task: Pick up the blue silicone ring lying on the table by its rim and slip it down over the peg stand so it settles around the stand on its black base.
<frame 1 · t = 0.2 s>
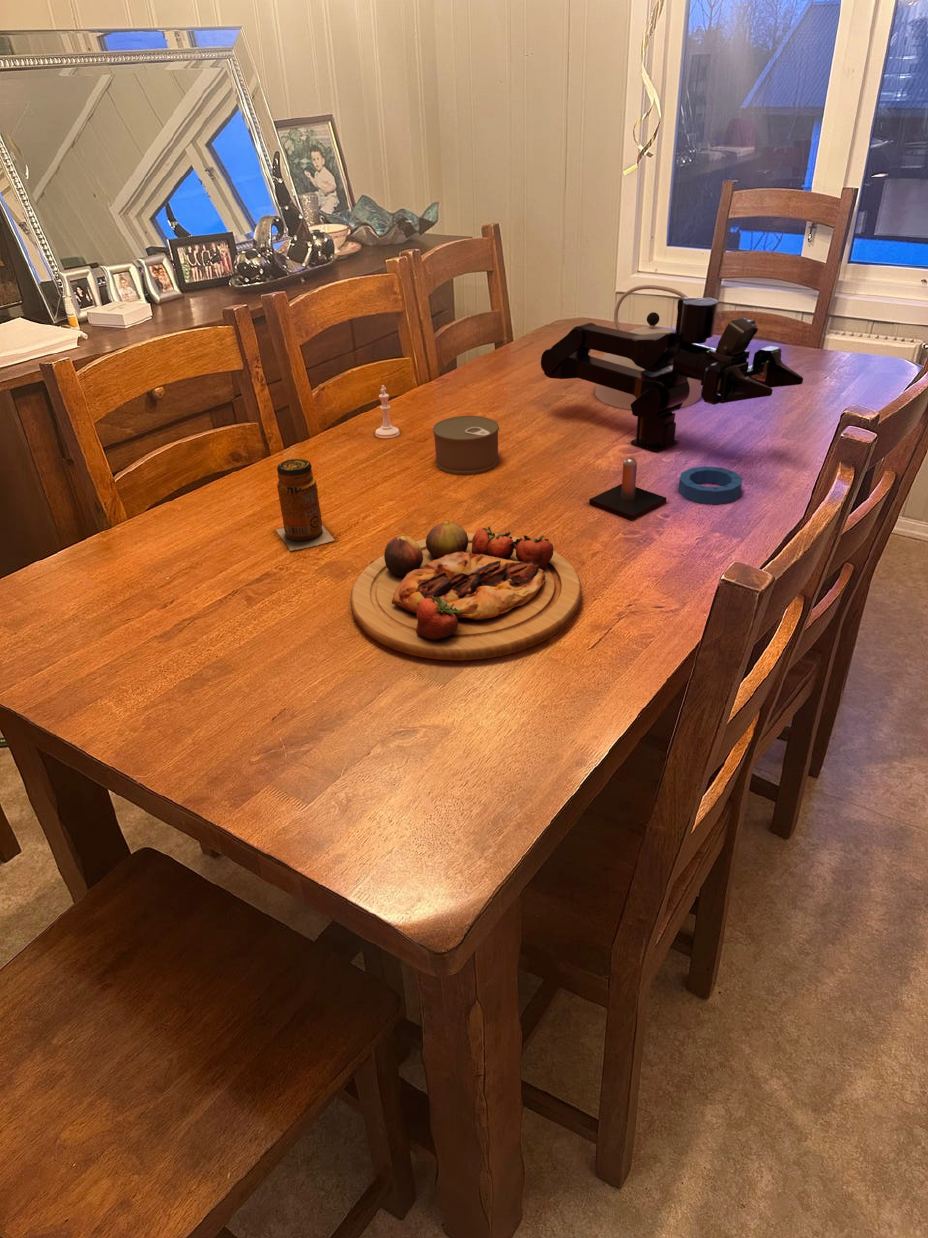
hand: (787, 386, 141), 16 cm above the table, tool horizontal, fingers open, 9 cm apart
chess piece: (387, 434, 177), on the table
wooden plate: (466, 600, 122), on the table
kettle: (652, 394, 190), on the table
can: (467, 463, 163), on the table
blue ring: (709, 491, 147), on the table
condiment: (305, 537, 140), on the table
peg stand: (627, 503, 145), on the table
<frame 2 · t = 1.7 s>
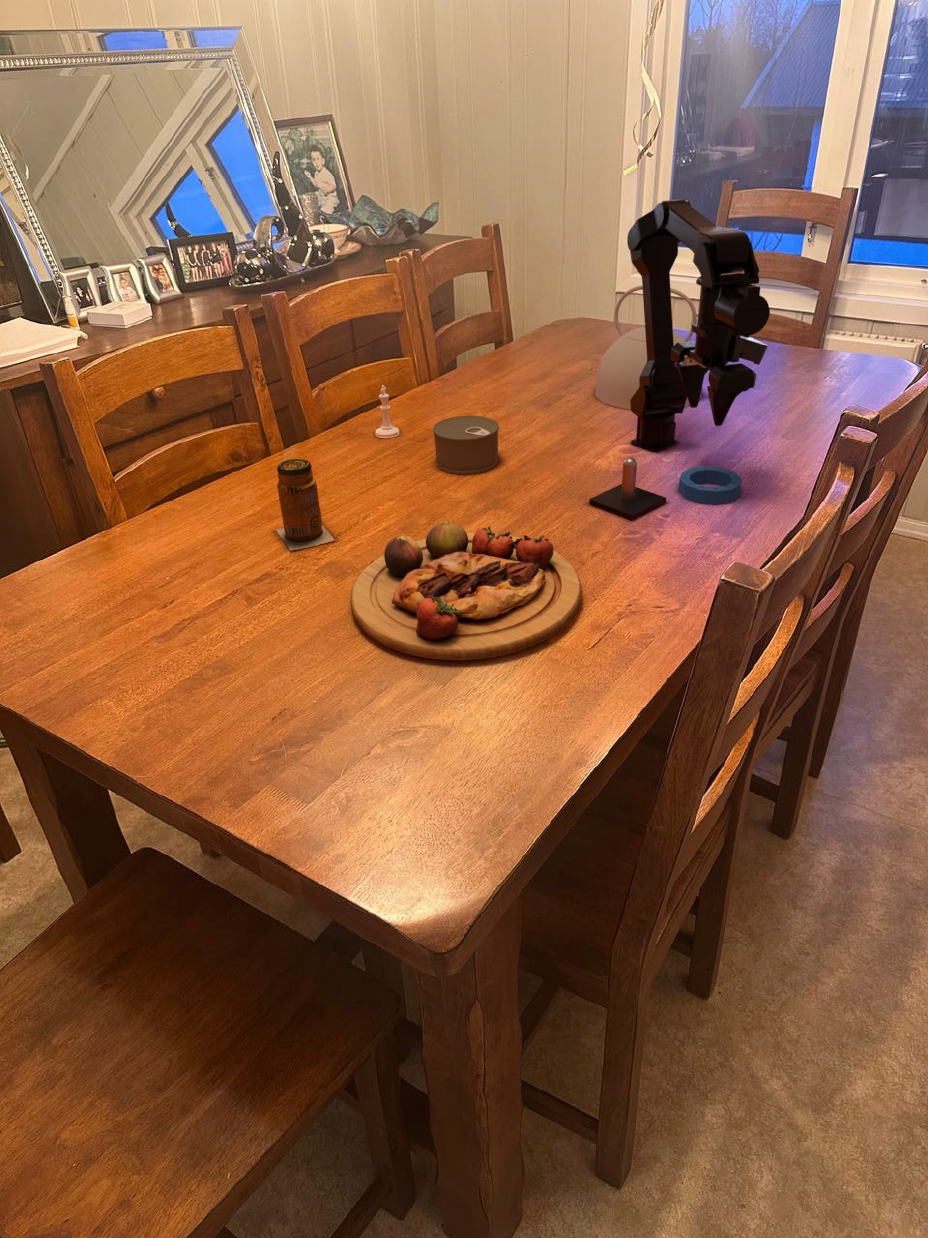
hand: (705, 416, 144), 12 cm above the table, tool pointing down, fingers open, 9 cm apart
nothing on the table moved.
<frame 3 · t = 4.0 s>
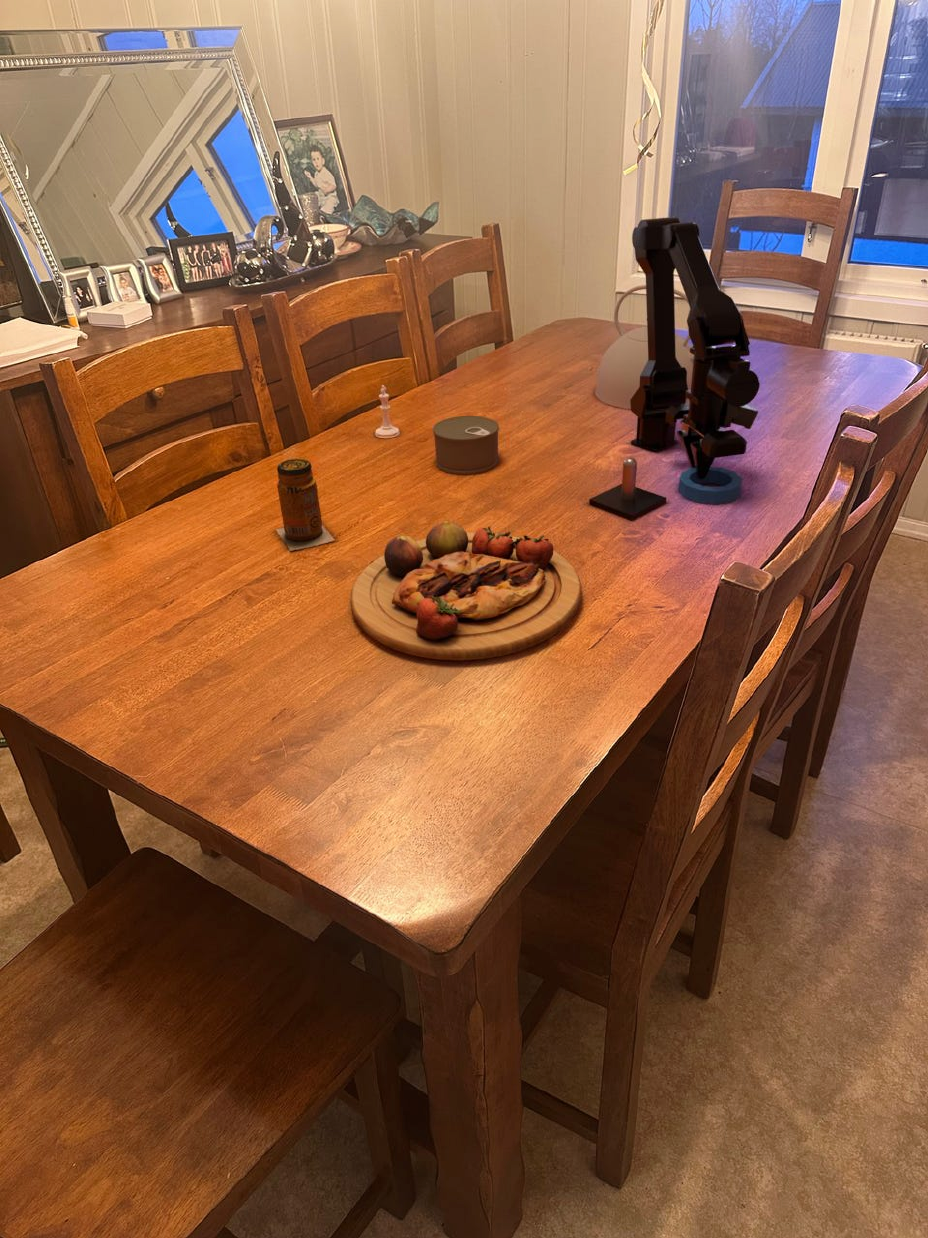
hand: (699, 476, 150), 1 cm above the table, tool pointing down, fingers closed on blue ring, 2 cm apart
blue ring: (709, 491, 147), on the table, touching gripper
everything else where it was.
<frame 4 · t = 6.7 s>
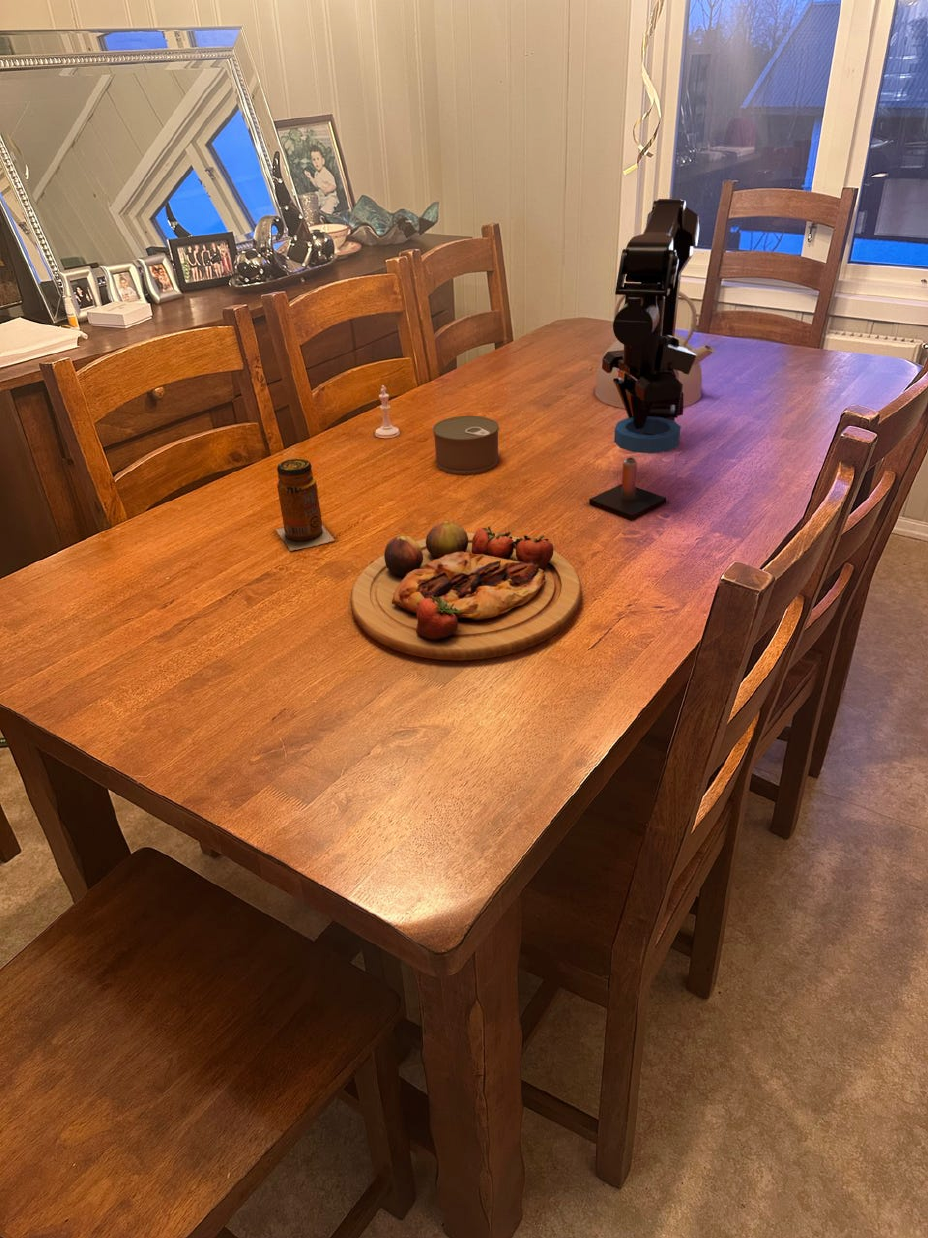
hand: (636, 426, 142), 12 cm above the table, tool pointing down, fingers closed on blue ring
blue ring: (646, 441, 139), point 11 cm above the table, touching gripper
everything else where it was.
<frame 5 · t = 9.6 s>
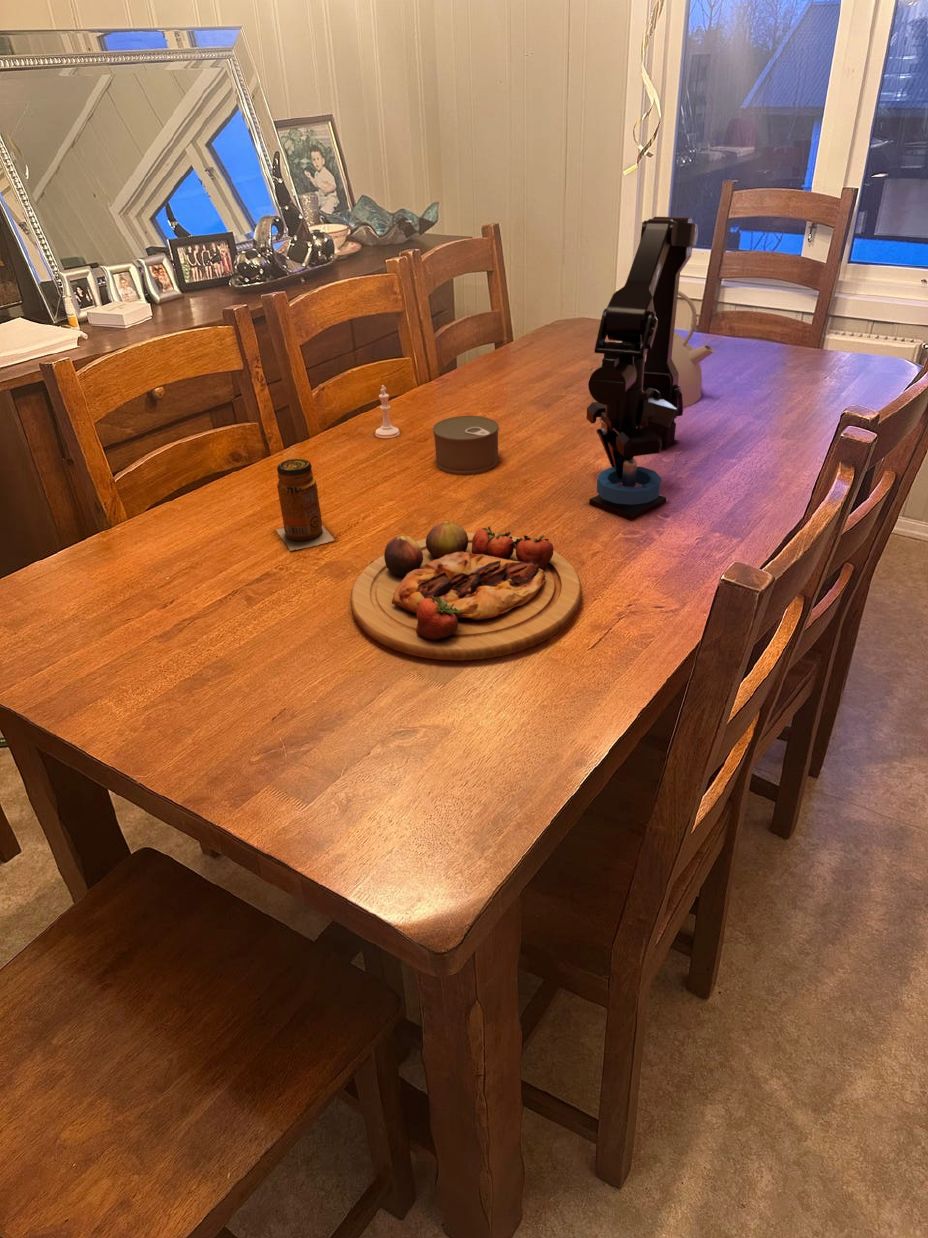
hand: (619, 475, 146), 3 cm above the table, tool pointing down, fingers closed on blue ring, 2 cm apart
blue ring: (628, 491, 144), point 2 cm above the table, touching gripper
everything else where it was.
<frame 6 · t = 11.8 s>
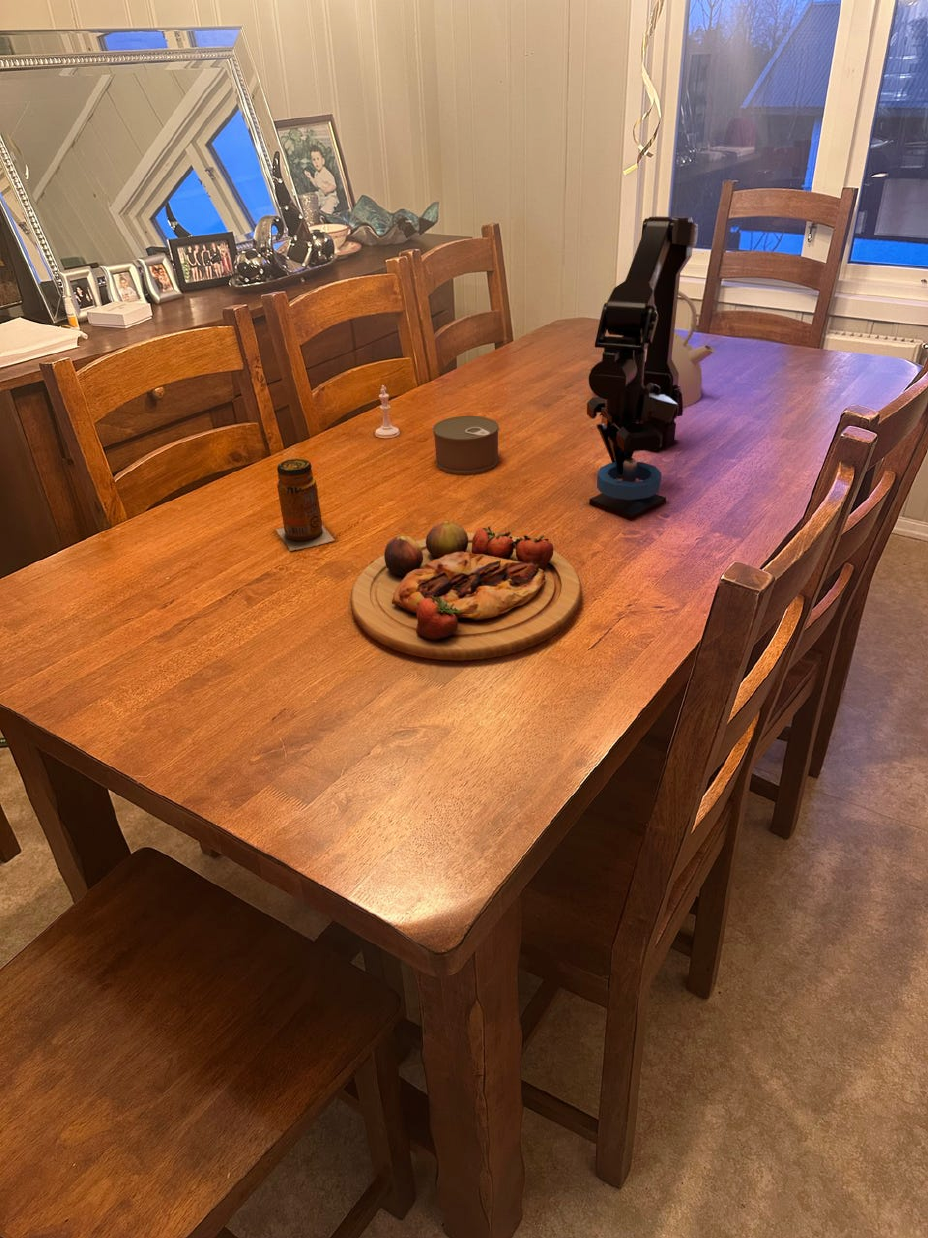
hand: (619, 471, 146), 4 cm above the table, tool pointing down, fingers closed on blue ring, 2 cm apart
blue ring: (628, 486, 143), point 3 cm above the table, touching gripper
everything else where it was.
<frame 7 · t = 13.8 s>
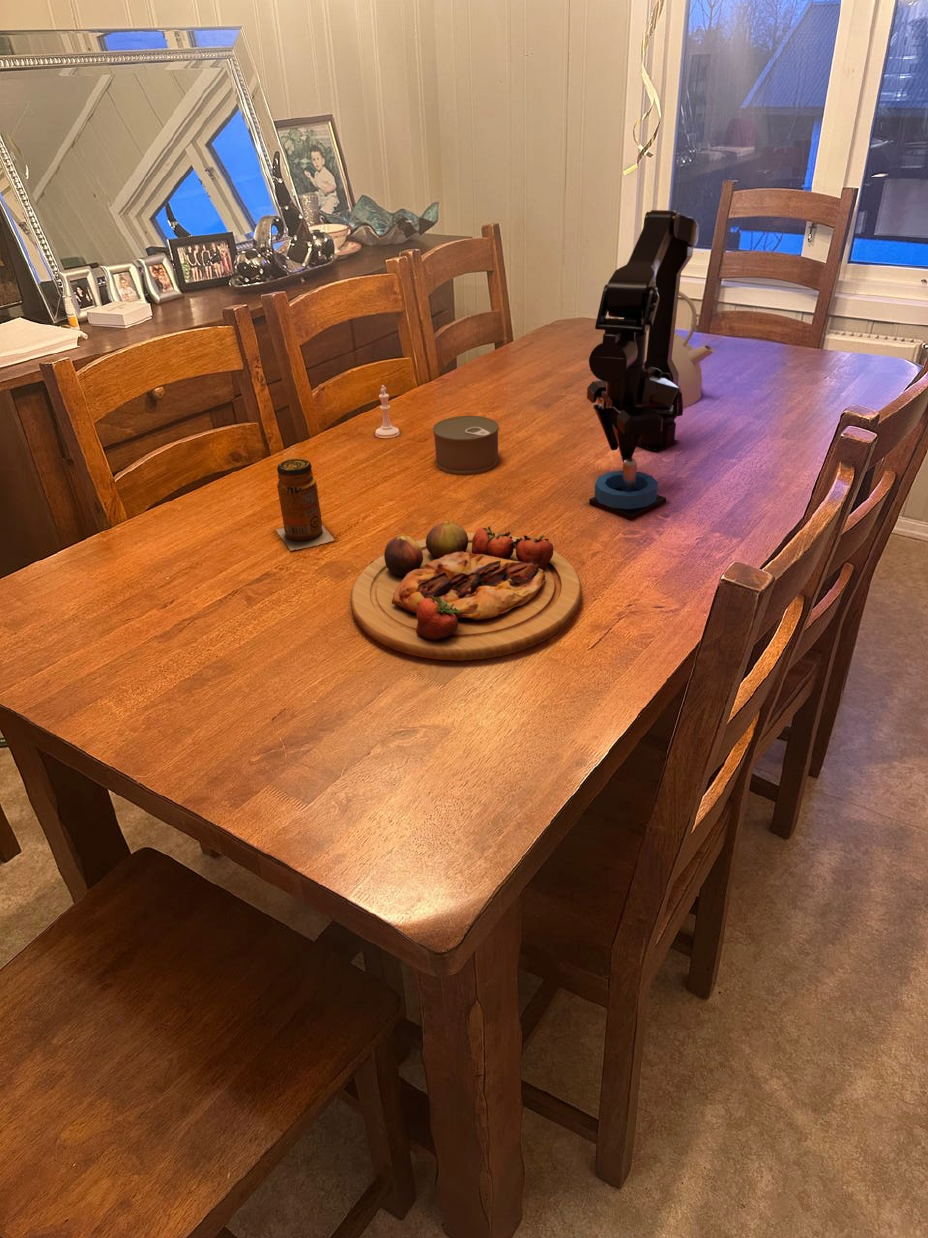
hand: (620, 455, 145), 7 cm above the table, tool pointing down, fingers open, 5 cm apart
blue ring: (625, 495, 145), point 1 cm above the table, touching peg stand
everything else where it was.
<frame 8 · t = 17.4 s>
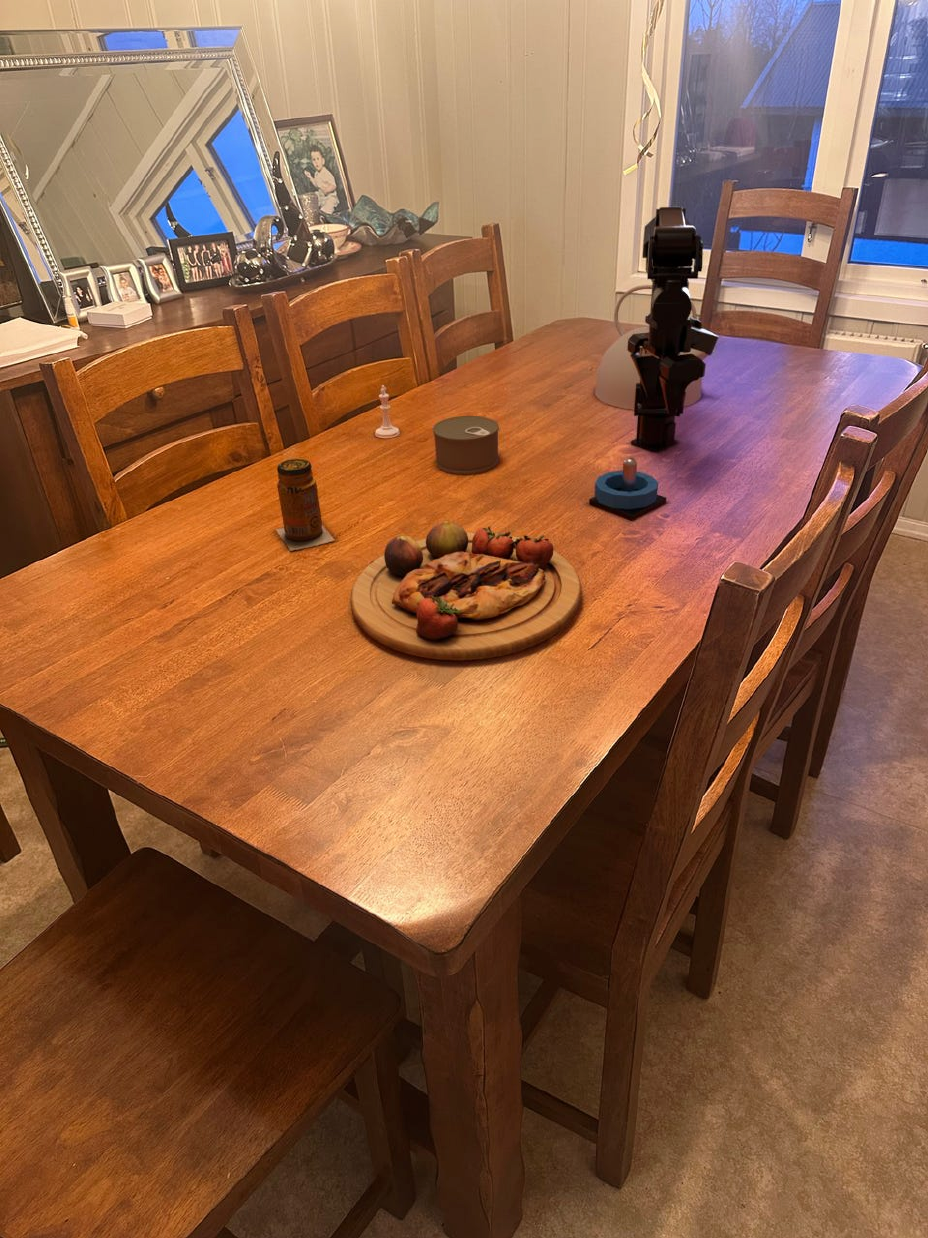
hand: (660, 405, 149), 12 cm above the table, tool pointing down, fingers open, 9 cm apart
nothing on the table moved.
at the end: blue ring 0.9 cm from the peg stand (horizontally); blue ring point 1.0 cm above the table; the gripper is holding nothing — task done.
